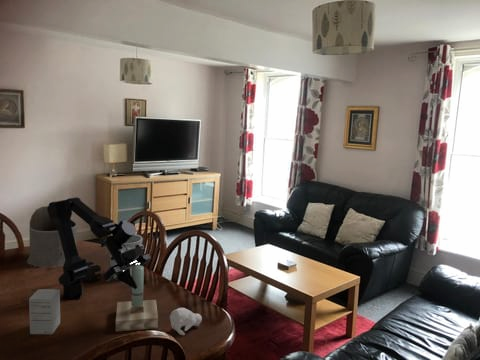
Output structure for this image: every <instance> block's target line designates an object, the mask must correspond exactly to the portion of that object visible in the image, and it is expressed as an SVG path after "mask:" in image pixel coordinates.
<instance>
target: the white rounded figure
mask: <svg viewBox="0 0 480 360" xmlns="http://www.w3.org/2000/svg"><path fill="white" fill-rule="evenodd" d="M169 320H170V325H171V328H172V329H173V330H174V331H176V332H177V333H178V334H179V335H180V336H185V335H186V333H185V332H186V331H188V330H189V329H191V328H192V327H193V326H194V327H196V328H198V327H199V326H200V325H201V323H202V320H203V317H202V315H201V314H199V313H194V312H193V311H191V310H189V309H187V308H185V307H178V308H176V309H174V310H172V312H171V313H170V315H169ZM182 327H184V330H182Z"/></svg>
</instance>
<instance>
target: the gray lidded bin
mask: <svg viewBox="0 0 480 360" xmlns="http://www.w3.org/2000/svg"><path fill="white" fill-rule="evenodd" d="M47 207H48V205H46V206H45V205H44V206H41V207H39V208H36V209H35V210H34V211H33V213H32V214H31V215H30V219H29V224H28V225H29V228H28V229H29V256H28V258H27V264H29V265H30V264H31V265H30V266H32V265H34V266H33V267H36V266H39V267H38V268H56V266H57V267H61V266H62V267H63V266H64V262H65V256H64V252H63V248H62V244H61V240H60V236H59V232H58V228H57V225H56V223H54V222H53V221H52V220H51V219H50V216H49V213H48V211H47ZM70 224H71V228H72V232H73V235H74V239H75V243H76V247H77V245H78V243H77V241H78V240H77V238H78V236H77V234H78V233H77V230H78V228H77V227H78V226H77V222H75V221H74V220H73V219H72V218H71V219H70ZM77 248H78V247H77Z"/></svg>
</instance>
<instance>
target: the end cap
mask: <svg viewBox="0 0 480 360" xmlns="http://www.w3.org/2000/svg"><path fill="white" fill-rule="evenodd" d="M86 264H87V267H88V268H87V270H88V272H87V274H86V277H85V279H84V280H86V281H88V282H89V283H94V282H97V281H100V280H101V277H102V273H100V272H101V271H102V267H101V265H98V264H96V265H94V264H95V262H93V261H88V262H87V261H86ZM97 272H99V273H97ZM96 273H97V274H96Z"/></svg>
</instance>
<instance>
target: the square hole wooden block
mask: <svg viewBox="0 0 480 360" xmlns="http://www.w3.org/2000/svg"><path fill="white" fill-rule="evenodd" d="M131 304H132V300H129V301H118V302H117V306H116V314H115V315H116V317H115V332H124V331H125V332H127V331H137V330H149V329H150V330H151V329H158V327H159V323H158V322H159V317H158V308H157V299H149V300H148V299H145V300H144V299H143V305H142V306H140V307H133V306H132V305H131Z"/></svg>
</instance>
